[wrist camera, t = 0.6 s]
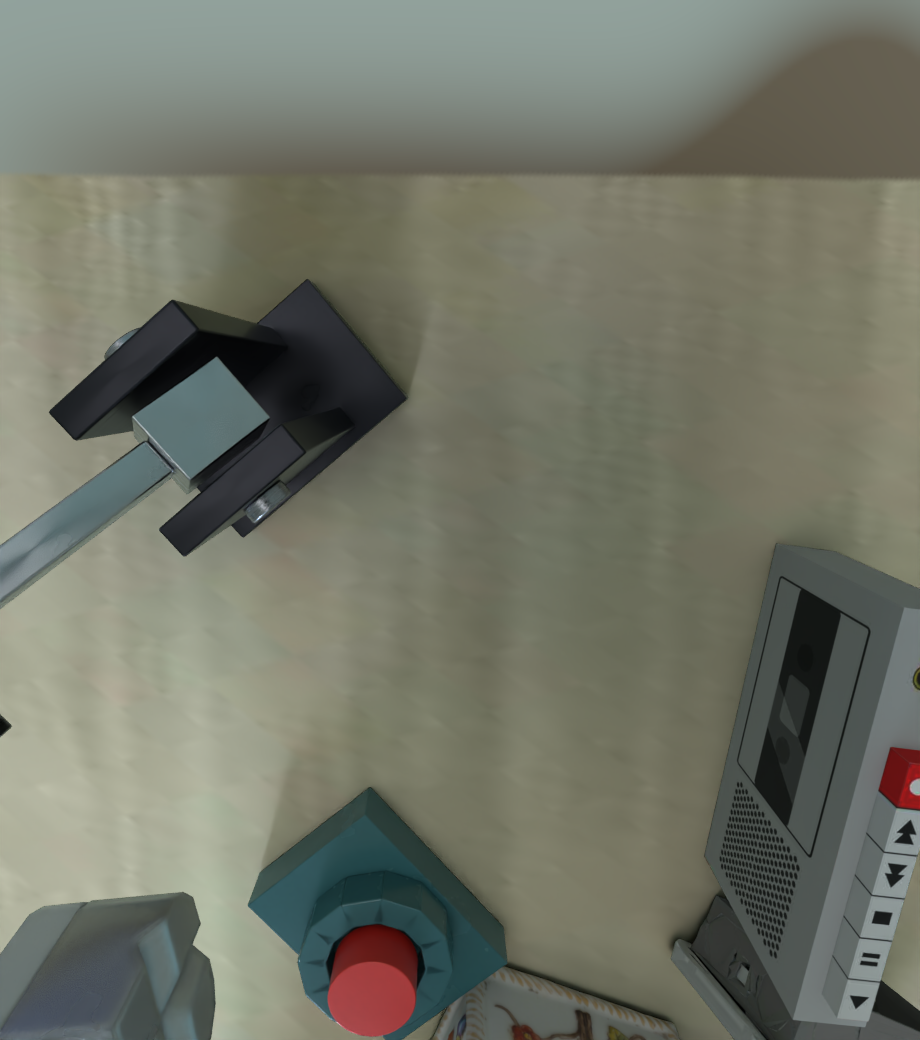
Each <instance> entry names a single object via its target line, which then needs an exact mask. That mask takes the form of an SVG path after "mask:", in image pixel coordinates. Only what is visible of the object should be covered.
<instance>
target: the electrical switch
mask: <svg viewBox="0 0 920 1040" xmlns="http://www.w3.org/2000/svg"><path fill="white" fill-rule="evenodd" d="M671 960H672V961H673V962H674V964H675V965H676V966H677V967H678V969H679V970H680V971H681V973H682V974H683V975H684V976H685V978H686V979H687V980H688V981H689V983H690V984H691V985H692V986H693V988H694V989H695V990H696V991H697V993H698V994H699V995H700V996H701V998H702V999H703V1000H704V1001H705V1003H706V1004H707V1005H708V1007H709V1008H710V1009H711V1010H712V1012H713V1013H714V1014H715V1015H716V1017H717V1018H718V1019H719V1020H720V1022H721V1023H722V1024H723V1026H724V1027H725V1028H726V1029H727V1031H728V1032H729V1033H730V1035H731V1036H732V1037H733V1038H734V1040H920V1011H919V1010H918V1009H916V1008H915V1007H914V1006H913V1005H911V1004H910V1003H909V1002H908V1001H906V1000H905V999H904V998H903V997H901V996H900V995H899V994H898V993H896V992H895V991H894V990H893V989H891V988H890V987H889V986H888V985H886V984H885V983H884V982H883V981H880V984H879V988H878V991H877V994H876V998H875V1000H876V1002H875V1001H874V1005H873V1008H872V1011H871V1015H870V1018H869V1022H867V1023H866V1026H865V1027H857V1026H847V1025H837V1024H828V1023H818V1022H809V1021H799V1020H793V1019H792V1017H791V1016H790V1014H789V1012H788V1010H787V1008H786V1006H785V1004H784V1003H783V1001H782V999H781V997H780V995H779V993H778V992H777V990H776V988H775V986H774V984H773V982H772V980H771V979H770V977H769V975H768V973H767V971H766V969H765V967H764V966H763V964H762V962H761V960H760V958H759V956H758V955H757V953H756V951H755V949H754V947H753V945H752V943H751V942H750V940H749V938H748V936H747V934H746V932H745V930H744V929H743V927H742V925H741V923H740V921H739V919H738V917H737V916H736V914H735V912H734V910H733V908H732V906H731V905H730V903H729V901H728V900H727V899H725V898H722V897H720V896H718V895H716V897H715V899H714V902H713V904H712V907H711V909H710V911H709V914H708V916H707V919H706V920H705V921H704V923H703V924H702V926H701V927H700V929H699V932H698V935H697V938H696V940H695V941H694V943H693V944H691V943H688V942H686V941H684V940H681V939H678V940H677V941H676V942H675V946H674V949H673V952H672V956H671Z"/></svg>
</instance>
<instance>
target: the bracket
mask: <svg viewBox="0 0 920 1040" xmlns="http://www.w3.org/2000/svg"><path fill="white" fill-rule="evenodd" d="M216 356H217V357H218V358H219V359H220V360H221V361H222V362H223V364H224V365H225V366H226V367H227V368H228V369H229V370H230V372H231V373H232V374H233V375H234V376H235V377H236V378H237V380H238V381H239V382H240V383H241V384H242V385H243V386H244V388H245V389H246V390H247V391H248V392H249V393H250V394H251V396H252V397H253V398H254V399H255V400H256V401H257V402H258V404H259V405H260V406H261V407H262V408H263V409H264V410H265V412H266V413H267V414H268V415H269V416H270V420H269V422H268V424H267V425H266V427H265V429H264V431H263V433H262V435H261V436H260V438H259V439H258V440H257V441H255V442H254V443H253V444H252V445H250V446H249V447H248V448H246V449H245V450H244V451H243V452H241V453H240V454H239V455H237V456H236V457H235V458H234V459H232V460H231V461H230V462H229V463H227V464H226V465H225V466H223V467H222V468H221V469H220V470H218V471H217V472H216V473H214V474H213V475H212V476H211V477H209V478H208V479H207V480H206V481H204V482H203V483H202V484H200V485H199V486H198V487H197V488H198V490H199V491H200V492H201V493H200V494H198V495H197V496H196V497H195V498H194V499H193V500H191V501H190V502H189V503H188V504H187V505H186V506H184V507H183V508H182V509H181V510H180V511H179V512H178V513H176V514H175V515H174V516H173V517H172V518H171V519H169V520H168V521H167V522H166V523H165V524H164V525H162V526H161V527H160V529H159V531H160V532H161V533H162V534H163V535H164V536H165V537H166V538H167V539H168V540H169V542H170V543H171V544H172V545H173V546H174V547H175V548H176V549H177V550H178V551H179V552H180V553H181V554H182V555H183V556H187V555H188V554H190V553H191V552H193V551H194V550H196V549H197V548H198V547H200V546H201V545H203V544H204V543H206V542H207V541H209V540H210V539H211V538H213V537H214V536H216V535H217V534H219V533H220V532H222V531H223V530H224V529H226V528H227V527H229V526H230V525H231V526H232V527H233V528H234V529H235V530H236V531H237V532H238V533H239V534H240V535H241V536H242V537H245V536H246V535H247V534H249V533H250V532H251V531H252V530H254V529H255V528H256V527H257V526H258V525H259V524H261V523H262V522H263V521H264V520H265V519H267V518H268V517H269V516H270V515H271V514H272V513H274V512H275V511H276V510H277V509H278V508H279V507H281V506H282V505H283V504H284V503H285V502H287V501H288V500H289V499H290V498H291V497H292V496H294V495H295V494H296V493H297V492H298V491H300V490H301V489H302V488H303V487H304V486H305V485H307V484H308V483H309V482H310V481H311V480H313V479H314V478H315V477H316V476H317V475H318V474H320V473H321V472H322V471H323V470H324V469H326V468H327V467H328V466H329V465H330V464H331V463H333V462H334V461H335V460H336V459H337V458H338V457H340V456H341V455H342V454H343V453H344V452H346V451H347V450H348V449H349V448H350V447H351V446H353V445H354V444H355V443H356V442H357V441H359V440H360V439H361V438H362V437H363V436H364V435H366V434H367V433H368V432H369V431H370V430H372V429H373V428H374V427H375V426H376V425H377V424H379V423H380V422H381V421H382V420H383V419H385V418H386V417H387V416H388V415H389V414H390V413H392V412H393V411H394V410H395V409H396V408H398V407H399V406H400V405H401V404H402V403H403V402H405V401H406V400H407V399H408V396H407V395H406V394H405V393H404V391H403V390H402V389H401V388H400V387H399V385H398V384H397V383H396V382H395V381H394V379H393V378H392V377H391V376H390V375H389V373H388V372H387V371H386V370H385V369H384V367H383V366H382V365H381V364H380V363H379V361H378V360H377V359H376V358H375V357H374V355H373V354H372V353H371V352H370V351H369V349H368V348H367V347H366V346H365V344H364V343H363V342H362V341H361V340H360V338H359V337H358V336H357V335H356V334H355V332H354V331H353V330H352V329H351V328H350V326H349V325H348V324H347V323H346V322H345V320H344V319H343V318H342V317H341V316H340V314H339V313H338V312H337V311H336V310H335V308H334V307H333V306H332V305H331V304H330V302H329V301H328V300H327V299H326V298H325V296H324V295H323V294H322V293H321V291H320V290H319V289H318V288H317V287H316V285H315V284H314V283H313V282H311V281H310V280H308V279H306V280H305V281H304V282H303V283H302V284H301V285H300V286H299V287H297V288H296V289H295V290H294V291H293V292H292V293H291V294H290V295H288V296H287V297H286V298H285V299H284V300H283V301H282V302H281V303H279V304H278V305H277V306H276V307H275V308H274V309H273V310H272V311H270V312H269V313H268V314H267V315H266V316H265V317H264V318H263V319H261V320H260V321H259V322H258V323H257V324H256V323H252V322H249V321H245V320H242V319H238V318H235V317H231V316H228V315H225V314H221V313H218V312H214V311H211V310H207V309H204V308H200V307H197V306H193V305H190V304H186V303H183V302H179V301H176V300H171V301H169V302H168V303H167V304H166V305H165V306H164V307H163V308H162V309H161V310H160V311H158V312H157V313H156V314H155V315H154V316H153V317H152V318H151V319H150V320H149V321H147V322H146V323H145V324H144V325H143V326H142V327H140V328H137V329H134V330H132V331H130V332H128V333H126V334H125V335H123V336H122V337H120V338H119V339H118V340H117V341H115V342H114V343H113V344H112V345H111V346H110V347H109V349H108V350H107V352H106V353H105V356H104V358H105V361H104V362H102V363H101V364H100V365H99V366H98V367H97V368H96V369H95V370H94V371H93V372H91V373H90V374H89V375H88V376H87V377H86V378H85V379H84V380H83V381H82V382H80V383H79V384H78V385H77V386H76V387H75V388H74V389H73V390H72V391H71V392H69V393H68V394H67V395H66V396H65V397H64V398H63V399H62V400H61V401H60V402H58V403H57V404H56V405H55V406H54V407H53V408H52V409H51V410H50V411H49V413H50V414H51V416H52V417H53V418H54V419H55V420H56V421H57V422H58V423H59V424H60V425H61V426H62V427H63V428H64V429H65V430H66V431H67V433H68V434H69V435H70V436H71V437H72V438H73V439H74V440H76V441H77V440H83V439H89V438H94V437H100V436H106V435H112V434H118V433H124V432H130V431H133V425H132V419H131V416H132V415H133V414H134V413H136V412H137V411H139V410H140V409H142V408H143V407H144V406H146V405H147V404H149V403H150V402H151V401H153V400H154V399H156V398H157V397H158V396H160V395H161V394H163V393H164V392H166V391H167V390H168V389H170V388H171V387H173V386H174V385H175V384H177V383H178V382H180V381H181V380H182V379H184V378H185V377H187V376H188V375H190V374H191V373H192V372H194V371H195V370H197V369H198V368H199V367H201V366H202V365H204V364H205V363H207V362H208V361H209V360H211V359H212V358H214V357H216Z"/></svg>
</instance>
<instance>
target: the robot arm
mask: <svg viewBox="0 0 920 1040" xmlns="http://www.w3.org/2000/svg"><path fill="white" fill-rule="evenodd" d="M200 924H201V923H200V920H199V916H198V913H197V909H196V906H195V902H194V899H193V897H192V896H190V895H188V894H186V893H184V892H179V893H168V894H157V895H147V896H136V897H126V898H115V899H104V900H94V901H90V902H80V903H70V904H60V905H51V906H43V907H42V908H40V909H38V910H36V911H35V912H33V913H31V914H29V916H28V917H27V918H26V920H25V921H24V922H23V924H22V925H21V926H20V928H19V929H18V931H17V932H16V933H15V935H14V936H13V937H12V939H11V940H10V941H9V943H8V944H7V946H6V947H5V948H4V950H3V951H2V952H1V954H0V1040H211V1035H212V1027H213V1019H214V1011H215V987H214V977H213V972H212V968H211V964H210V959H209V958H208V957H206V956H205V955H204V954H203V953H202V952H201V951H199V950H198V949H197V948H196V947H195V946H193V945H192V944H193V941H194V939H195V936H196V934H197V931H198V929H199V926H200Z"/></svg>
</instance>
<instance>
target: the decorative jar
mask: <svg viewBox="0 0 920 1040" xmlns="http://www.w3.org/2000/svg"><path fill="white" fill-rule="evenodd" d="M432 1040H680V1038H679V1035H678V1032H677V1029H676V1027H675V1025H674V1024H673V1023H672V1022H668V1021H663V1020H661V1019H657V1018H654V1017H652V1016H648V1015H643V1014H642V1013H640V1012H637V1011H634V1010H631V1009H629V1008H626V1007H623V1006H619V1005H616V1004H614V1003H611V1002H608V1001H605V1000H602V999H599V998H597V997H594V996H591V995H588V994H585V993H581V992H578V991H576V990H573V989H569V988H567V987H564V986H562V985H559V984H556V983H553V982H551V981H549V980H546V979H542V978H539V977H536V976H533V975H529V974H526V973H523V972H520V971H517V970H514V969H511V968H507V967H504V966H503V967H502V968H500V969H499V970H498V971H496V972H495V973H493V974H492V975H491V976H489V977H488V978H486V979H485V980H484V981H482V982H481V983H480V984H478V985H477V986H475V987H474V988H473V989H471V990H470V991H468V992H467V993H466V994H464V995H463V996H462V997H460V998H459V999H457V1000H456V1001H455V1002H453V1003H452V1004H450V1005H449V1006H448V1007H447V1010H446V1012H445V1014H444V1016H443V1018H442V1020H441V1021H440V1023H439V1025H438V1027H437V1030H436V1033H435V1035H434V1037H433V1038H432Z"/></svg>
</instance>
